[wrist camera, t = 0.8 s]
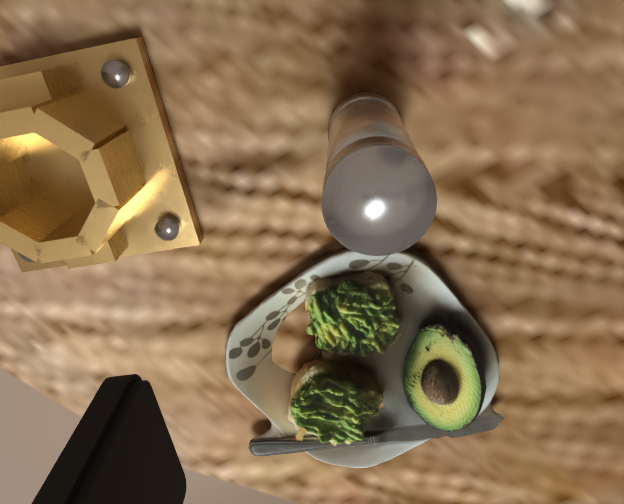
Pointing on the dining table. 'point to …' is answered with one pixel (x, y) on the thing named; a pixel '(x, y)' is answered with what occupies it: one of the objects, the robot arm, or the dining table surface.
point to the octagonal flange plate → (89, 160)
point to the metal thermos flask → (375, 179)
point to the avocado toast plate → (367, 361)
